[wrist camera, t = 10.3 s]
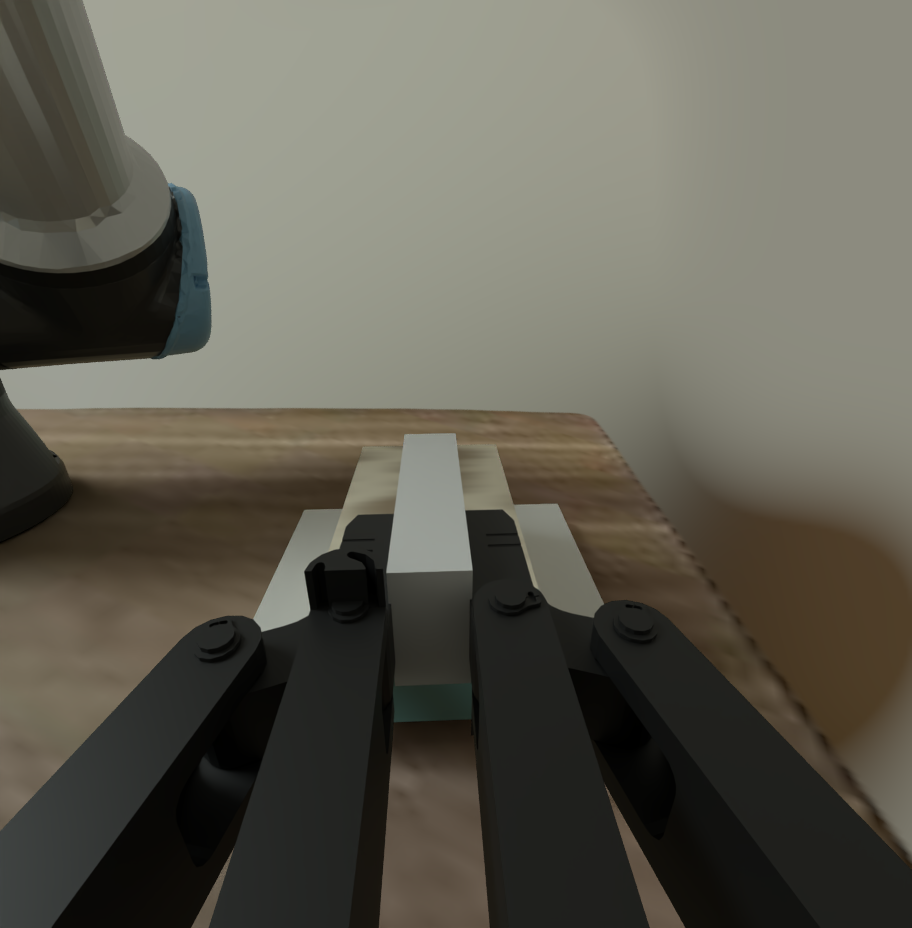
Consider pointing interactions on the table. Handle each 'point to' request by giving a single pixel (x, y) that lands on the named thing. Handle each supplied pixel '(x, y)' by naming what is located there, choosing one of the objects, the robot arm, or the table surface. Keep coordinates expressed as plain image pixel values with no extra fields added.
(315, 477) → the table surface
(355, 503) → the birch block
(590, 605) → the pad
